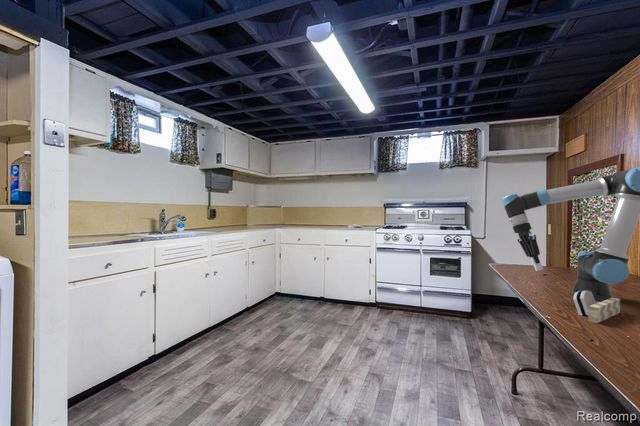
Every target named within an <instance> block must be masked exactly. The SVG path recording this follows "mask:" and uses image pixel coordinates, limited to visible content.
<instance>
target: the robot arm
mask: <svg viewBox="0 0 640 426" xmlns="http://www.w3.org/2000/svg"><path fill="white" fill-rule="evenodd" d="M596 196H602V197H608V196H615V197H616V198H617V201H616V203H615V206H614V209H613V211H612V215H611V217H610V221H609V223H608V226H607V228H606V232H605V234H604V236H603V239H602V243H601V244H600V245H601V246H600V247H599V248H597V249H594V251H585V250H583V251H578V253H577V254H578V255H577V267H576V269H577V270H576V272H577V273H576V275H577V277H576V281H575V283H574V285H573V287H572V289H571V295H573V296H574V294H575V293H576V292H578V291H590V292H592V294H593V296H594V299H595V301H596V302H601V301H604V300H607V299H609V298H612V297H613V294H612V291H611V289H610V286H609V285H617V284H621V283H623V282H624V281H626V280H627V279H628V277H629V275H630V268H629V267H628V263H629V259H630V258H629V256H628V255H627V250H628V248H629V246H630V243H631V240H632V237H633V234H634V231H635V229H636V226H637V224H638V221H639V218H640V166H637V167H633V168H630V169H625V170H621V171H618V172H615V173H613V174H612V173H611V174H609V175H606V176H601V177H598V178H597V179H595V180H591V181H590V180H589V181H585V182H581V183H576V184H571V185H565V186H561V187H560V186H559V187H556V188H551V189H542V190H537V191H533V192H530V193H524V194H522V195H518V194H517V193H511V194H508V195H506V196H504V197H502V199H501V202H502V204H503V205H502V206H503V208H504V211H505V212H506V215H507V217H508V219H509V222H510V224H511V226H512V229H513V231H514V234H518V237H519V238H518V239H516V240H517V242H518V244H519V245H520V247H521V248H522V250H523V252H524V254H525V256H526V257H527V258H529V259H530V260H531V263H532V266H533V268H534V269H535V271H536V272H537V271H538V272H539V271H542V270H544V268H543V266H542V263H541V261H540V258H539V255H540V254H541V253H540V252H541V251H540V248H539V245H538V242H537V235H536V234H532V232H531V230H532V229H533V227H532V226H531V223H530V222H529V218H528V216H527V214H526V212H525V211H528V210H531V209H535V208H539V207H543V206H546V205H550V204H557V203H562V202H569V201H573V200H578V199H580V200H581V199H586V198H590V197H596Z"/></svg>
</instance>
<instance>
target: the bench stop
mask: <svg viewBox="0 0 640 426" xmlns="http://www.w3.org/2000/svg"><path fill="white" fill-rule="evenodd" d="M620 311H621V298H617V297H613V296H612V298H609V299H607V300H604V301H598V302H596V304H593V305H591V306H589V311H588V315H587V317H588V318H587V322H589V323H592V324H599V323H601V322H603V321H606V320H607V319H610V318H611V317H613V316H616V315H619V313H620Z"/></svg>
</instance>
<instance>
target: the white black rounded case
mask: <svg viewBox="0 0 640 426" xmlns="http://www.w3.org/2000/svg"><path fill="white" fill-rule="evenodd" d="M572 300H573V302H574V306H575V308H576V311H577V314H578V316H583V315H586V316H588V311H589V306H591V305H593V304H596V303H597V300H595V299H594V296H593V294H592V292H590V291H578V292H576V293H575V294H574V295H573V299H572Z"/></svg>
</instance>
